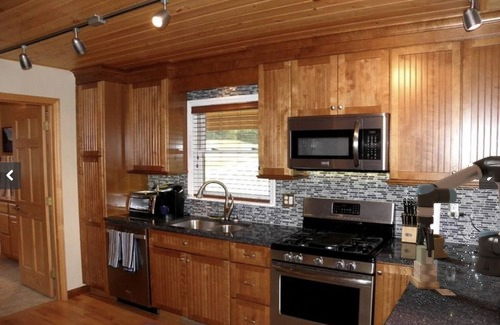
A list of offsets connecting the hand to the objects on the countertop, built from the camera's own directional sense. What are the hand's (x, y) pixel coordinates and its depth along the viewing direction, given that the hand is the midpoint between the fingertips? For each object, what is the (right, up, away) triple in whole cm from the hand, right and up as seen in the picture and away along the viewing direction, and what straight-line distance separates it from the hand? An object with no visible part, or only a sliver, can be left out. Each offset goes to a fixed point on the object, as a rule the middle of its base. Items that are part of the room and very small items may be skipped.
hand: (424, 261), depth 190 cm
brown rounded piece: (+32, -12, +54) cm, 64 cm away
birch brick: (0, -9, 0) cm, 9 cm away
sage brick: (0, -1, 0) cm, 1 cm away
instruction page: (+5, -12, -10) cm, 17 cm away
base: (0, -12, 0) cm, 12 cm away
